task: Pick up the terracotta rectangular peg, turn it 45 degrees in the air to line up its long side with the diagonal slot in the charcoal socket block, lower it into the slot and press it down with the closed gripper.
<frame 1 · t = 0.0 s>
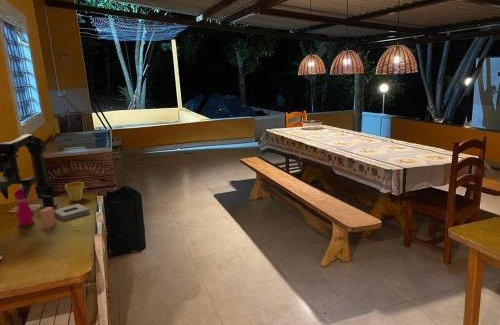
hand: (16, 198, 178), 15 cm above the table, fingers open, 9 cm apart
plant pot: (76, 199, 222), on the table
pink bowling pin: (26, 223, 185), on the table
keyed peg: (49, 225, 181), on the table
socket block: (71, 214, 197), on the table
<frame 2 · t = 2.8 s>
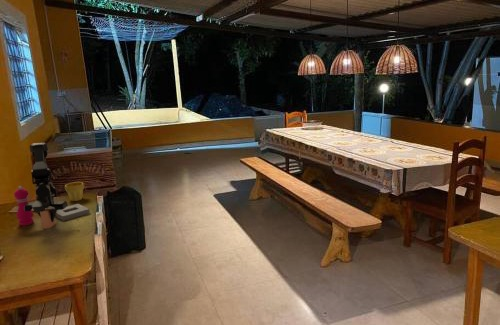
hand: (48, 222, 181), 2 cm above the table, fingers closed on keyed peg, 3 cm apart
keyed peg: (49, 225, 181), on the table, touching gripper
everything else where it was.
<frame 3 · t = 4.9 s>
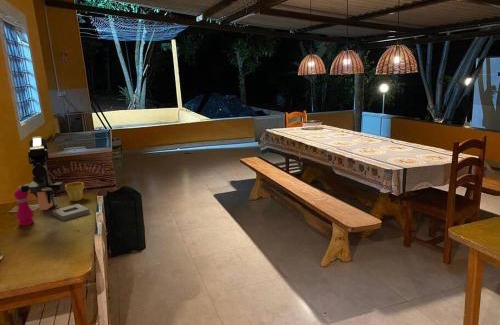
hand: (45, 203, 178), 12 cm above the table, fingers closed on keyed peg, 3 cm apart
keyed peg: (46, 207, 179), point 10 cm above the table, touching gripper
everything else where it was.
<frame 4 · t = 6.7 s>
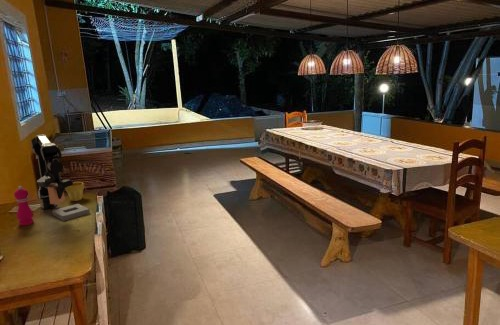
hand: (57, 198, 186), 12 cm above the table, fingers closed on keyed peg, 3 cm apart
keyed peg: (57, 202, 187), point 10 cm above the table, touching gripper
everything else where it was.
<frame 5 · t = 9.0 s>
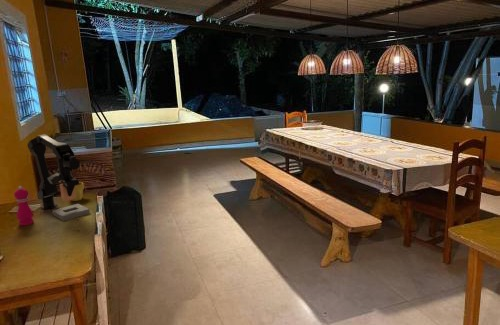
hand: (68, 195, 194), 11 cm above the table, fingers closed on keyed peg, 3 cm apart
keyed peg: (69, 199, 195), point 9 cm above the table, touching gripper
everything else where it was.
when the fingers open (4 cm above the table, at t = 10.7 s): keyed peg drops 2 cm, resting in socket block.
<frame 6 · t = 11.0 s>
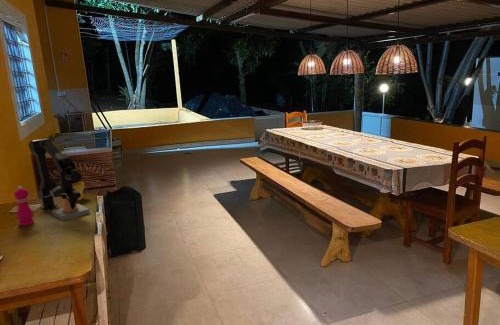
hand: (70, 207, 196), 4 cm above the table, fingers open, 6 cm apart
keyed peg: (71, 214, 197), resting in socket block
everything else where it was.
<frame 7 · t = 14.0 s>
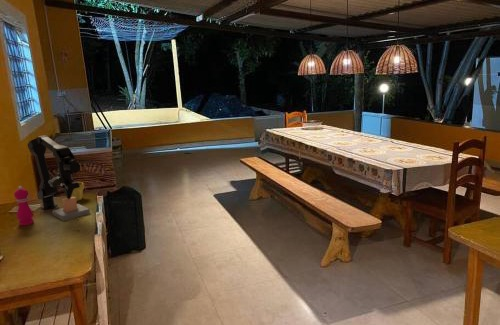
hand: (68, 198, 195), 9 cm above the table, fingers closed, pressing on keyed peg
keyed peg: (71, 214, 197), resting in socket block, touching gripper
everything else where it was.
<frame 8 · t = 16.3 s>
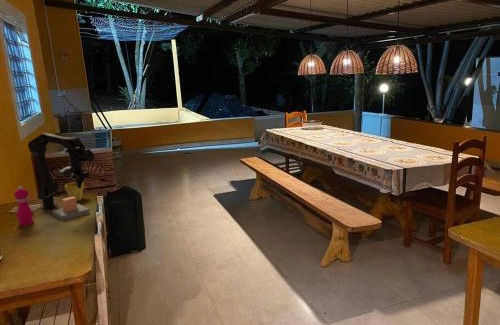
hand: (79, 188, 199), 13 cm above the table, fingers closed
keyed peg: (71, 214, 197), resting in socket block
everything else where it was.
at the end: keyed peg 0.1 cm off-centre on the socket block, point 0.0 cm above the socket block's base; keyed peg tilted 0°; the gripper is holding nothing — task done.
